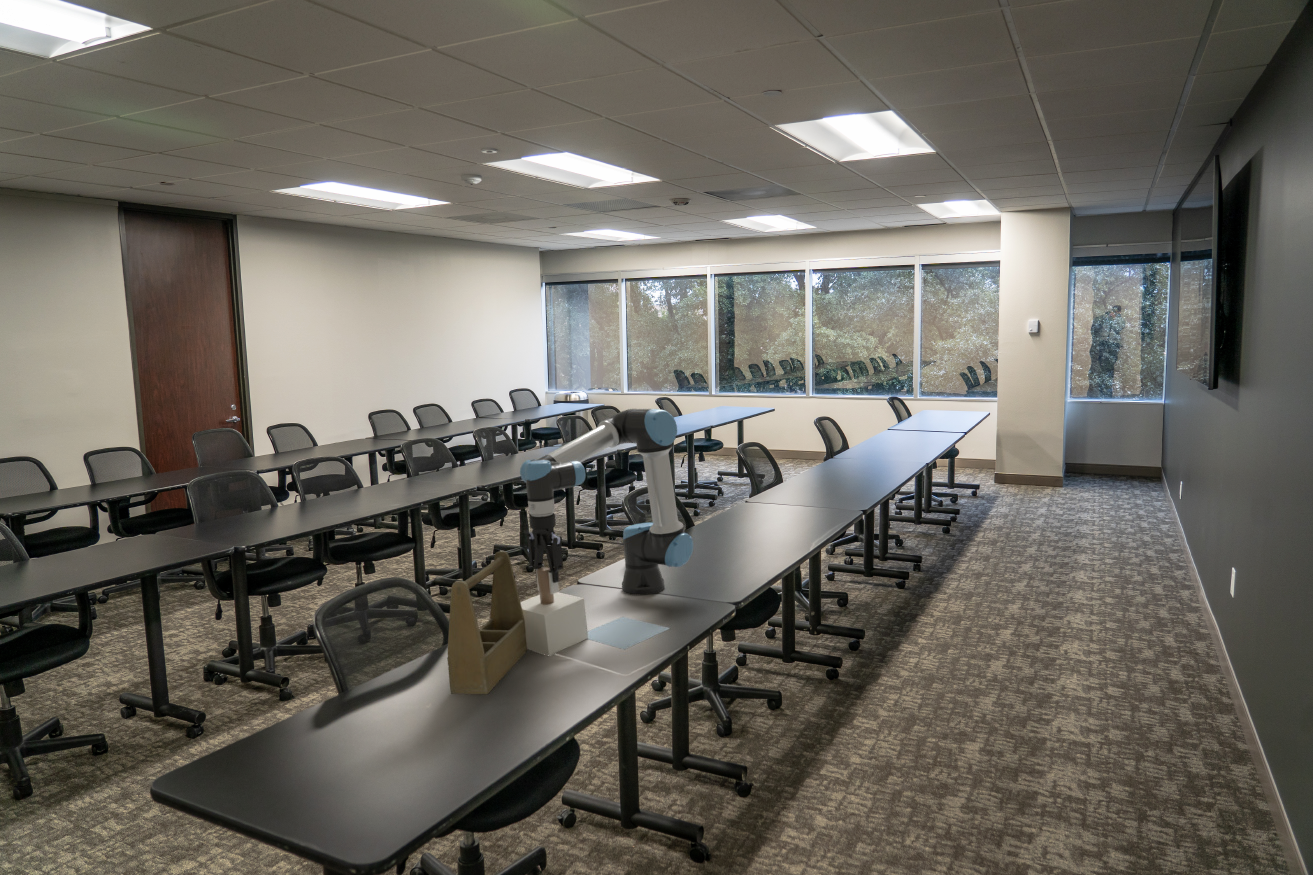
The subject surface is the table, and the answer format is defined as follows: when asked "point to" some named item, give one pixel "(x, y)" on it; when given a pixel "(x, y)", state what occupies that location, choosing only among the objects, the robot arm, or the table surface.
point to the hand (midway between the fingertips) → (548, 591)
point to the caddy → (485, 631)
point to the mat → (624, 632)
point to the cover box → (553, 618)
